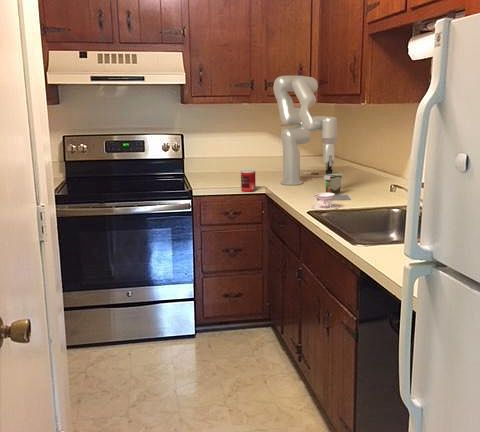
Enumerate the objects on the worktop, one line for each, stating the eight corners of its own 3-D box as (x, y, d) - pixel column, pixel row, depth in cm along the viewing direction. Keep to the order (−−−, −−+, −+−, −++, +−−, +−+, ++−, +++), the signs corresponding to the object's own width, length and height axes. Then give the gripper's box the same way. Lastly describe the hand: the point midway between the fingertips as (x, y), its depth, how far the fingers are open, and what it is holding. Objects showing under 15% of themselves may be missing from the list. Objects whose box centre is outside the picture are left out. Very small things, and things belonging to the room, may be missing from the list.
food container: (331, 192, 280) (331, 173, 279) (341, 193, 276) (342, 173, 275) (318, 195, 271) (319, 175, 269) (329, 196, 267) (329, 175, 265)
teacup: (336, 204, 250) (336, 191, 248) (340, 210, 238) (340, 196, 237) (310, 205, 250) (310, 192, 249) (313, 210, 238) (313, 197, 237)
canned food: (255, 189, 292) (254, 169, 290) (256, 192, 285) (255, 171, 282) (241, 189, 292) (240, 169, 290) (241, 192, 284) (241, 171, 282)
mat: (315, 195, 271) (315, 195, 271) (347, 195, 270) (347, 194, 270) (317, 200, 260) (317, 199, 259) (351, 200, 259) (351, 199, 259)
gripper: (320, 140, 283) (320, 175, 288) (323, 142, 269) (323, 179, 273) (334, 140, 283) (334, 174, 287) (338, 142, 269) (338, 179, 273)
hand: (328, 176), depth 280 cm, fingers closed
